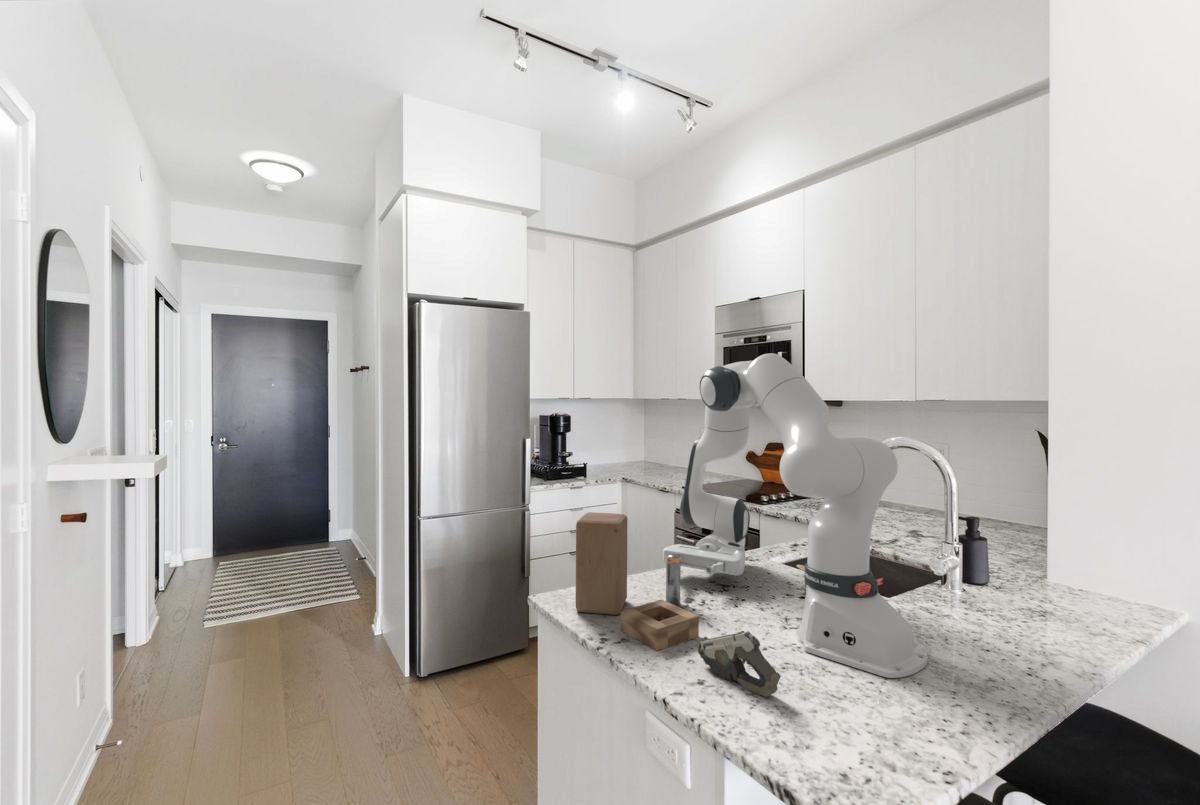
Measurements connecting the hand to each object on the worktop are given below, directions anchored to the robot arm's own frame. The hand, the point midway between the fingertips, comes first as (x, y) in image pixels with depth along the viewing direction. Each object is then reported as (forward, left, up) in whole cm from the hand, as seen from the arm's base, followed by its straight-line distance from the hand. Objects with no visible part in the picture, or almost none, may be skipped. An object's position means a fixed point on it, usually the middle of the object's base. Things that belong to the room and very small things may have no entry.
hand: (690, 567), depth 137 cm
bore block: (-13, +22, -6) cm, 26 cm away
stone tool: (-16, -33, -7) cm, 37 cm away
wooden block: (+5, +23, -6) cm, 24 cm away
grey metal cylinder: (-3, +9, -6) cm, 11 cm away
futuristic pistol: (-34, +24, -6) cm, 42 cm away
